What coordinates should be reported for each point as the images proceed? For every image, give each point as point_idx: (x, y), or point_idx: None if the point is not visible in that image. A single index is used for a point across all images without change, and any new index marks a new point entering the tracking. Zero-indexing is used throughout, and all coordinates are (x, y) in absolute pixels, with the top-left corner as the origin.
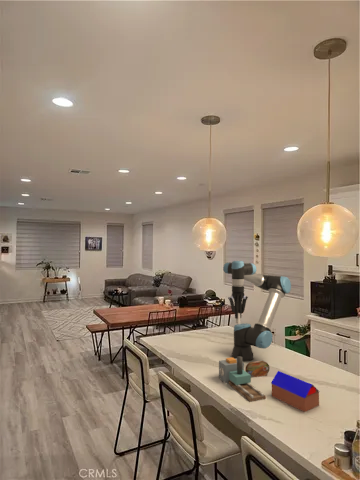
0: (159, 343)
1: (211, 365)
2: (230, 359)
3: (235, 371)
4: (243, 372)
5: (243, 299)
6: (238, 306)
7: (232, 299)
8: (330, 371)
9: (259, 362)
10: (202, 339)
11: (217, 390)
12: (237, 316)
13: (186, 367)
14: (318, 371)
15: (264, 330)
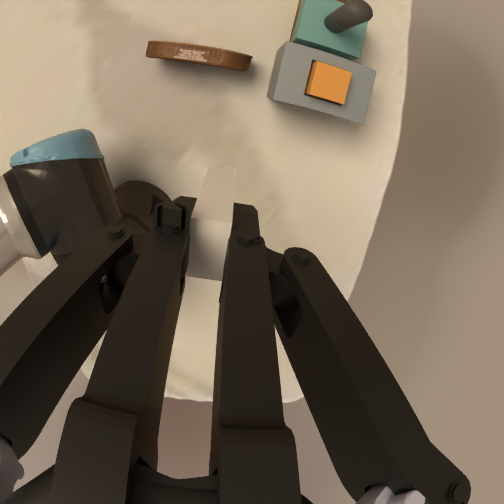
0: (292, 377)
1: (285, 211)
2: (337, 81)
3: (335, 45)
4: (315, 20)
5: (17, 436)
6: (169, 345)
7: (418, 490)
8: (5, 37)
9: (184, 46)
10: (179, 364)
11: (398, 58)
12: (235, 215)
13: (359, 237)
14: (22, 39)
15: (26, 172)
